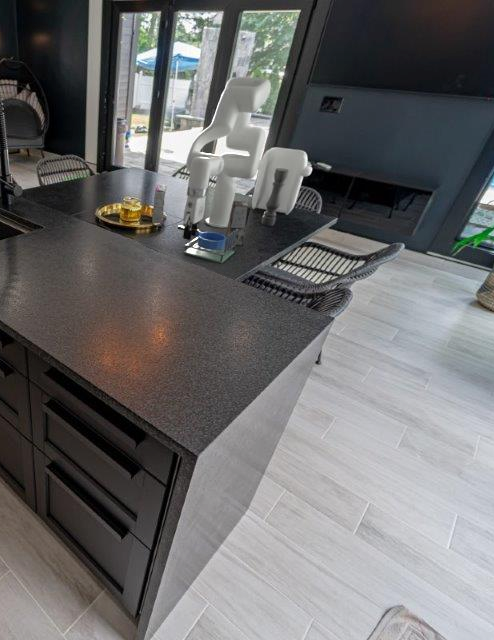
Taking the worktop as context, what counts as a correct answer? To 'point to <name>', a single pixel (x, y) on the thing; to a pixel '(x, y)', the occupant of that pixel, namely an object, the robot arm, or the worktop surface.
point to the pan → (208, 239)
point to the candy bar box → (159, 204)
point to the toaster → (290, 190)
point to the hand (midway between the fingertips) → (189, 236)
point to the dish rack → (213, 254)
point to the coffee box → (238, 220)
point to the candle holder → (274, 197)
